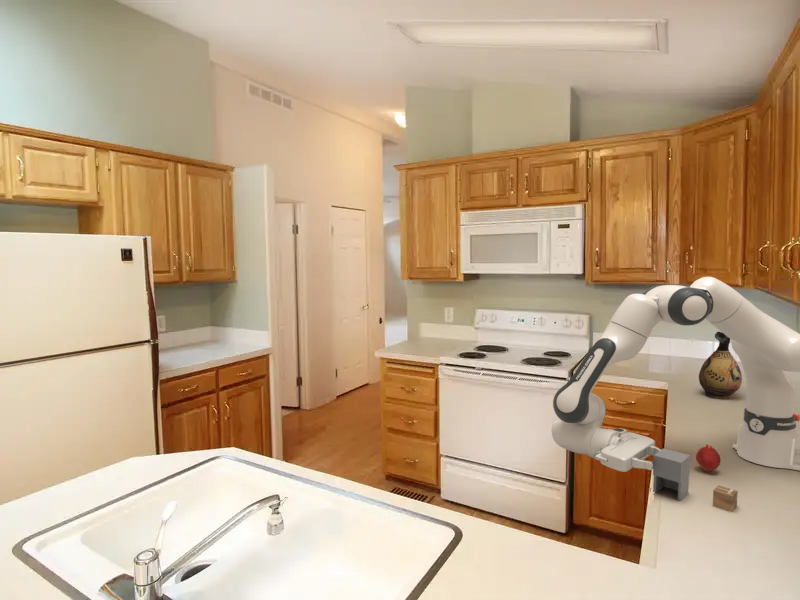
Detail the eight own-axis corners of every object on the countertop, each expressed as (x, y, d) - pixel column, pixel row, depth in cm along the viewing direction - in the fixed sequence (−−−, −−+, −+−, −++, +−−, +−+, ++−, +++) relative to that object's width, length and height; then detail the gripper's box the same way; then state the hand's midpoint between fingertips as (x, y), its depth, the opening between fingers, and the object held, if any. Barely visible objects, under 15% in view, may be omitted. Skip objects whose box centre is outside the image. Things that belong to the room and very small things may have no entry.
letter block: (717, 500, 121) (718, 484, 121) (736, 506, 118) (737, 490, 118) (712, 506, 118) (713, 489, 118) (731, 512, 115) (732, 495, 115)
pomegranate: (697, 465, 141) (698, 438, 140) (721, 470, 138) (722, 443, 137) (694, 472, 137) (695, 444, 136) (718, 477, 133) (719, 449, 132)
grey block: (661, 484, 129) (663, 448, 128) (688, 493, 125) (690, 455, 124) (652, 492, 125) (653, 455, 124) (679, 501, 120) (681, 462, 119)
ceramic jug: (734, 404, 198) (738, 331, 196) (692, 396, 210) (696, 327, 207) (746, 395, 210) (750, 327, 207) (705, 388, 221) (709, 323, 219)
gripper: (590, 444, 129) (644, 460, 119) (623, 426, 143) (674, 439, 132) (589, 467, 129) (643, 485, 119) (622, 447, 143) (673, 461, 133)
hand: (660, 461), depth 126 cm, fingers open, 8 cm apart
